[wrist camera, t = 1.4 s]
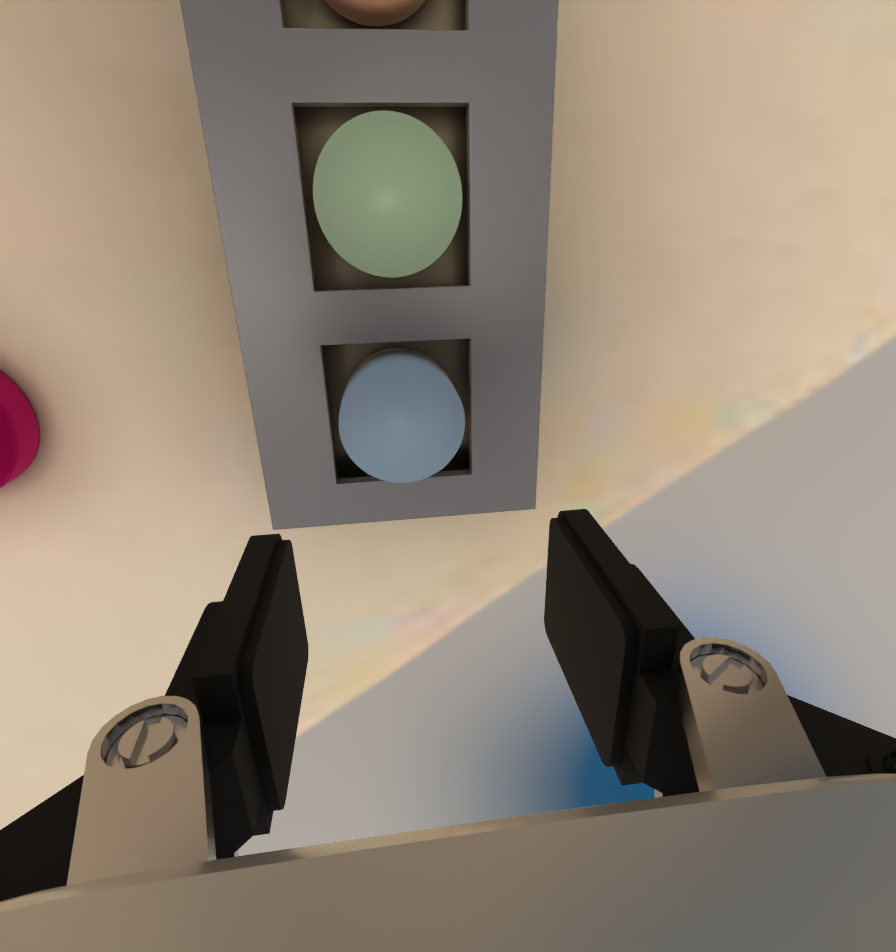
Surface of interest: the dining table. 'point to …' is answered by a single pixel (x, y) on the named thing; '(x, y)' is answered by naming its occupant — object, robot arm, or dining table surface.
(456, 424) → the blue button
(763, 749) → the robot arm
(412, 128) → the sage button
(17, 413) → the pepper mill
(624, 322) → the dining table surface
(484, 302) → the button panel
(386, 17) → the terracotta button
